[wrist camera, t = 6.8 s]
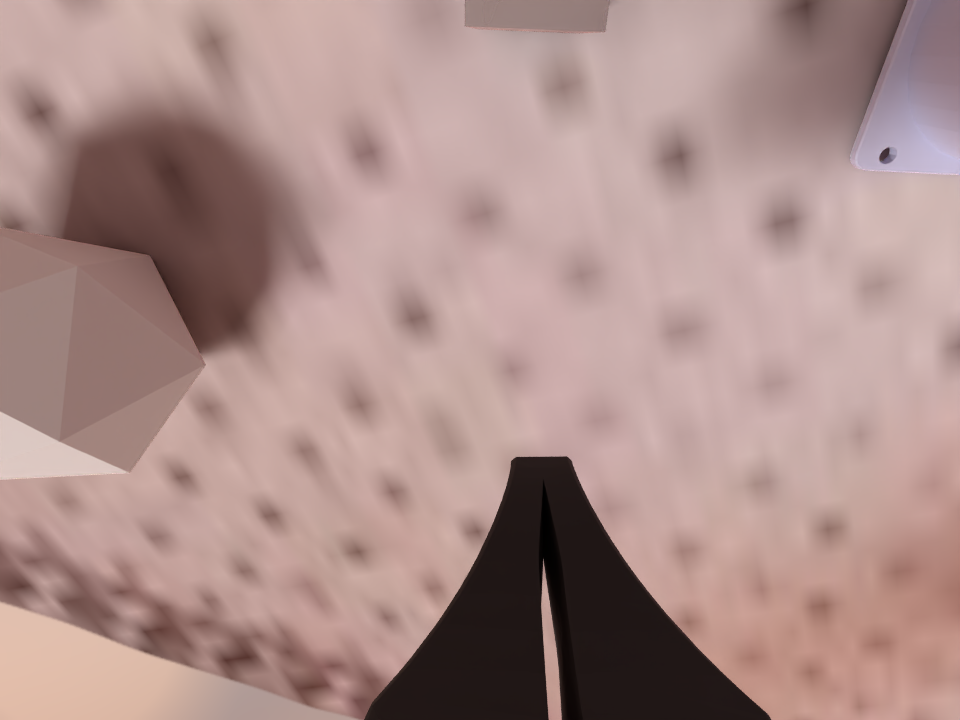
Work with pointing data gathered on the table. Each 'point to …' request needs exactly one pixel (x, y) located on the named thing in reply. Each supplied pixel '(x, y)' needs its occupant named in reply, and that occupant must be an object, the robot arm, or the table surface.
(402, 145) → the table surface
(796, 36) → the table surface
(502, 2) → the hook
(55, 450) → the die
